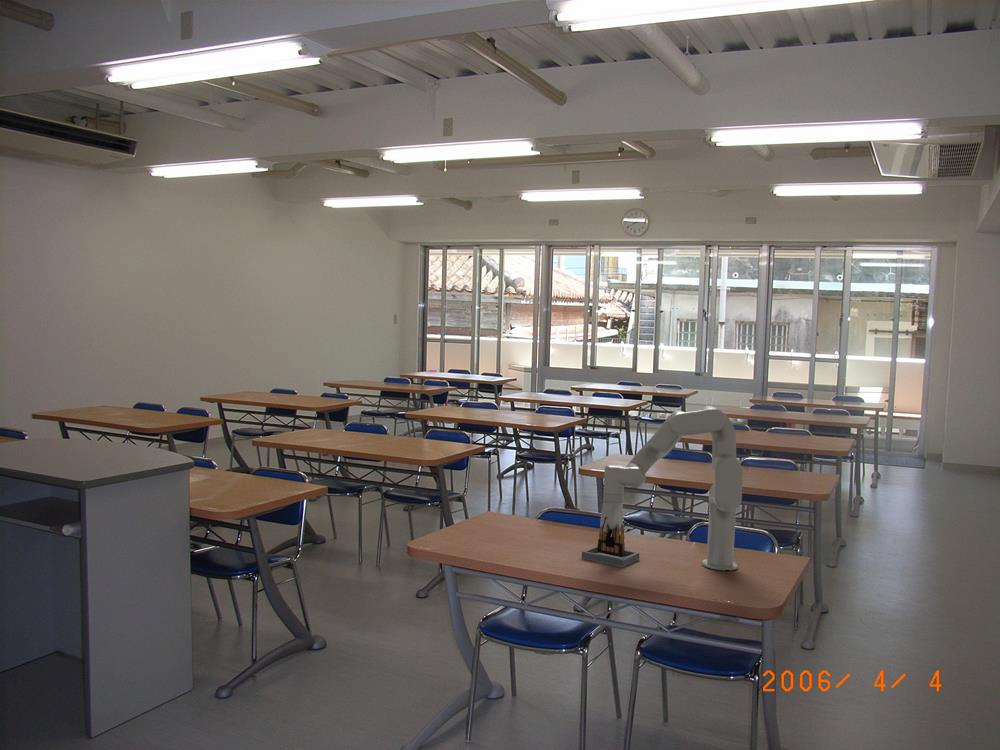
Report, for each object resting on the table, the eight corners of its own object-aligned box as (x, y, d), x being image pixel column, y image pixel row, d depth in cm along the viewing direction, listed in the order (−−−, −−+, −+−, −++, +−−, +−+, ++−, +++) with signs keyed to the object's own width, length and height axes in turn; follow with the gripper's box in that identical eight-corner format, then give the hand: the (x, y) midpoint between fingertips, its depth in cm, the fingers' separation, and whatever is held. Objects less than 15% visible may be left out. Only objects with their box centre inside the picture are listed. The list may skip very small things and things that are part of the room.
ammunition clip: (597, 552, 298) (598, 520, 298) (599, 551, 300) (600, 520, 299) (622, 557, 292) (623, 525, 292) (624, 556, 294) (626, 524, 293)
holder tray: (599, 551, 307) (599, 544, 307) (639, 559, 297) (639, 552, 297) (581, 558, 295) (581, 551, 295) (622, 567, 285) (622, 560, 285)
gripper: (614, 493, 304) (612, 540, 304) (594, 499, 291) (592, 548, 292) (631, 496, 299) (629, 544, 300) (612, 502, 286) (610, 552, 287)
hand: (611, 545), depth 296 cm, fingers closed on ammunition clip, 2 cm apart
